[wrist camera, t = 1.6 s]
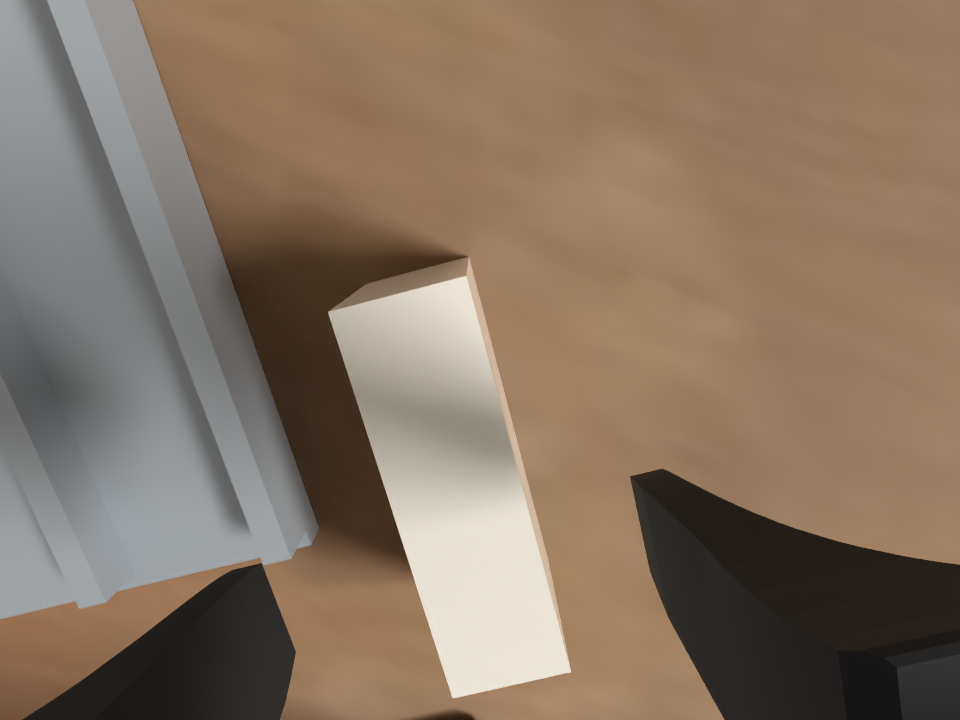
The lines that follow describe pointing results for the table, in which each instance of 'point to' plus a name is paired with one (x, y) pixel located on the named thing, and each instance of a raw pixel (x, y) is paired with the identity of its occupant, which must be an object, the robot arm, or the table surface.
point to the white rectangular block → (453, 474)
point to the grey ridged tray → (119, 333)
